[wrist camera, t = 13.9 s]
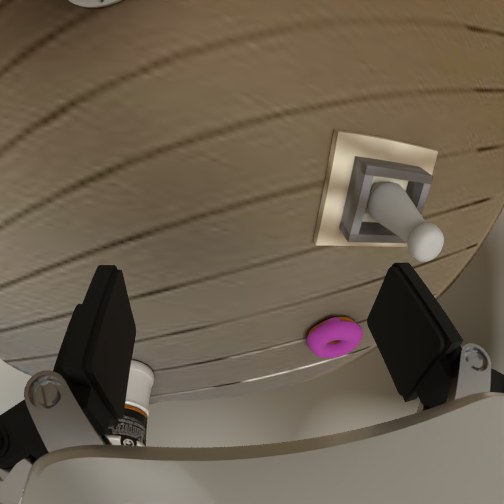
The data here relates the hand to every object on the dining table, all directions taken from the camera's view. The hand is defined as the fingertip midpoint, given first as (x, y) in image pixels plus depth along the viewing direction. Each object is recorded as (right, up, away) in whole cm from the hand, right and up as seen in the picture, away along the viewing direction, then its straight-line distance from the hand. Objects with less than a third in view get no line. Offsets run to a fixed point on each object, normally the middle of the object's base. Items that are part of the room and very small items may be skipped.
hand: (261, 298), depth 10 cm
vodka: (-25, -23, +47) cm, 58 cm away
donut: (+15, -13, +46) cm, 50 cm away
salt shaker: (+17, +9, +29) cm, 35 cm away
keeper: (+17, +10, +30) cm, 36 cm away
